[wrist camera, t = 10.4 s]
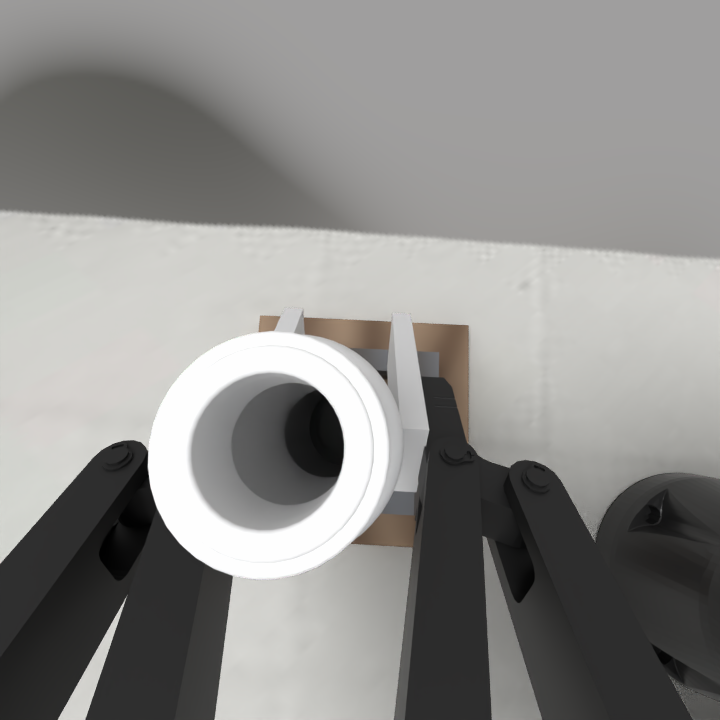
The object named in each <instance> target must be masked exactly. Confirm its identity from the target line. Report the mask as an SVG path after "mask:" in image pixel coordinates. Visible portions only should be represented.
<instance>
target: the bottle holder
mask: <svg viewBox="0 0 720 720" xmlns="http://www.w3.org/2000/svg"><path fill="white" fill-rule="evenodd" d="M279 319H280V316H260V323H259V332H266V331H274V330H275V328H276V326H277V324H278V321H279ZM412 326H413V332H414V338H415V344H416V351H417V357H418V363H419V369H420V375H421V376H424V377H443V378H445V379H446V381H447V382H448V383H449V384H450V385H451V386H452V389H453V392H454V396H455V400H456V404H457V409H458V411H459V415H460V419H461V422H462V426H463V430H464V434H465V437H466V441H467V443H468V325H447V324H426V323H412ZM304 331H305V335H312V336H318V337H322V338H326V339H329V340H332V341H335V342H337V343H339V344H342V345H344V346H346V347H348V348H349V349H351V350H353V351H354V352H356V353H357V354H359V355H360V356H361V357H362V358H364V359H365V360H366V361H368V362H369V363H370V364H371V365H372V366H373V367H374V368H375V369H376V370H377V372H378V373H379V374H380V376H381V377H382V378H383V379H384V381H385V382H386V384H387V386H388V375H387V362H388V352H389V341H390V331H391V322H384V321H363V320H343V319H322V318H304ZM419 497H420V494H419V485H418V487H417V492H402V491H393V493H392V496H391V498H390V500H389V501H388V503H387V505H386V506H385V508H384V510H383V511H382V513H381V514H380V515H379V516H378V518H377V519H376V520H375V521H374V523H373V524H372V525H371V526H370V527H369V528H368V529H367V530H366V531H365V532H364V533H363V534H361V535H360V536H359V537H357V538H356V539H355V540H354V541H353V542H352V543H351V544H365V545H382V546H399V547H413V543H414V534H415V524H416V521H415V515H416V511H417V506H418V501H419Z"/></svg>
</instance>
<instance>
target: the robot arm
mask: <svg viewBox="0 0 720 720" xmlns="http://www.w3.org/2000/svg"><path fill="white" fill-rule="evenodd" d="M274 331H281V332H293V333H297V334H301V335H305V331H304V315H303V308H284V311H283V313H282V315H281V317H280V319H279V321H278V324H277V326H276V328H275V330H274ZM387 375H388V387H389V389H390V391H391V393H392V395H393V397H394V399H395V402H396V404H397V407H398V410H399V413H400V417H401V422H402V428H403V439H404V449H403V460H402V465H401V471H400V474H399V478H398V481H397V484H396V487H395V489H394V491H402V492H417V487H418V485H419V494H420V497H419V501H418V506H417V511H416V515H415V521H416V524H415V534H414V543H413V552H412V561H411V570H410V579H409V588H408V597H407V607H406V616H405V625H404V634H403V643H402V652H401V661H400V670H399V680H398V689H397V698H396V707H395V716H394V720H492V717H491V697H490V678H489V658H488V638H487V618H486V598H485V578H484V559H483V539H482V536H485V537H487V540H488V544H489V547H490V550H491V553H492V557H493V560H494V563H495V566H496V570H497V573H498V576H499V579H500V583H501V586H502V589H503V592H504V596H505V599H506V602H507V605H508V609H509V612H510V615H511V619H512V622H513V625H514V628H515V632H516V635H517V638H518V641H519V645H520V648H521V651H522V654H523V658H524V661H525V664H526V667H527V671H528V674H529V677H530V680H531V684H532V687H533V690H534V694H535V697H536V700H537V703H538V707H539V710H540V713H541V716H542V720H692V718H691V716H690V714H689V713H688V711H687V709H686V707H685V705H684V703H683V702H682V700H681V698H680V696H679V694H678V693H677V691H676V689H675V687H674V685H673V684H672V682H671V680H670V678H671V679H673V680H674V681H676V682H678V683H679V684H681V685H683V686H685V687H686V688H688V689H690V690H693V691H695V692H697V693H700V694H702V695H705V696H707V697H709V698H712V699H714V700H717V701H719V702H720V479H716V478H711V477H705V476H698V475H692V474H685V473H667V474H661V475H656V476H652V477H649V478H647V479H644V480H642V481H640V482H638V483H636V484H634V485H633V486H631V487H630V488H628V489H627V490H626V491H624V492H623V493H622V494H621V495H620V496H619V497H618V498H617V499H616V500H615V502H614V503H613V504H612V505H611V507H610V508H609V510H608V511H607V513H606V515H605V517H604V519H603V521H602V524H601V526H600V529H599V532H598V536H597V541H596V544H595V542H594V540H593V538H592V536H591V535H590V533H589V531H588V529H587V527H586V526H585V524H584V522H583V520H582V518H581V516H580V515H579V513H578V511H577V509H576V507H575V506H574V504H573V502H572V500H571V498H570V497H569V495H568V493H567V491H566V489H565V487H564V486H563V484H562V482H561V480H560V479H559V478H558V477H557V475H556V474H555V473H554V472H553V471H551V470H550V469H549V468H547V467H546V466H544V465H542V464H540V463H537V462H534V461H528V460H524V461H518V462H516V463H515V464H513V465H512V466H511V468H507V467H504V466H501V465H497V464H494V463H491V462H489V461H486V460H484V459H483V458H481V457H479V456H478V455H477V453H476V451H475V450H474V449H473V448H472V447H471V445H469V444H468V443H467V441H466V437H465V434H464V430H463V426H462V422H461V419H460V415H459V411H458V409H457V404H456V400H455V396H454V392H453V389H452V386H451V385H450V384H449V383H448V382H447V381H446V379H445V378H443V377H424V376H421V375H420V369H419V363H418V357H417V351H416V344H415V338H414V332H413V326H412V319H411V314H409V313H392V321H391V331H390V341H389V352H388V362H387ZM232 579H233V576H232V575H229V574H226V573H224V572H221V571H218V570H216V569H213V568H212V567H210V566H208V565H207V564H205V563H203V562H202V561H200V560H198V559H197V558H195V557H194V556H193V555H192V554H191V553H190V552H188V551H187V550H186V549H185V548H184V547H183V546H182V545H181V544H179V542H178V541H177V540H176V538H175V537H174V536H173V534H172V533H171V532H170V531H169V529H168V528H167V527H166V525H165V523H164V521H163V519H162V517H161V515H160V513H159V511H158V509H157V507H156V503H155V500H154V497H153V494H152V491H151V487H150V479H149V471H148V451H147V449H146V447H145V446H144V445H143V444H142V443H141V442H138V441H134V440H130V441H121V442H118V443H115V444H112V445H110V446H108V447H106V448H105V449H103V450H101V451H100V452H99V453H98V454H97V455H96V456H95V457H94V458H93V459H92V460H91V461H90V462H89V463H88V464H87V466H86V467H85V468H84V469H83V470H82V471H81V472H80V474H79V475H78V476H77V477H76V478H75V479H74V480H73V482H72V483H71V484H70V485H69V486H68V487H67V488H66V490H65V491H64V492H63V493H62V494H61V495H60V496H59V498H58V499H57V500H56V501H55V502H54V503H53V504H52V506H51V507H50V508H49V509H48V510H47V511H46V512H45V514H44V515H43V516H42V517H41V518H40V519H39V520H38V522H37V523H36V524H35V525H34V526H33V527H32V528H31V530H30V531H29V532H28V533H27V534H26V535H25V536H24V538H23V539H22V540H21V541H20V542H19V543H18V544H17V546H16V547H15V548H14V549H13V550H12V551H11V552H10V554H9V555H8V556H7V557H6V558H5V559H4V560H3V562H2V563H1V564H0V720H58V718H59V716H60V714H61V713H62V711H63V709H64V707H65V705H66V704H67V702H68V700H69V698H70V696H71V695H72V693H73V691H74V689H75V688H76V686H77V684H78V682H79V680H80V679H81V677H82V675H83V673H84V671H85V670H86V668H87V666H88V664H89V663H90V661H91V659H92V657H93V655H94V654H95V652H96V650H97V648H98V646H99V645H100V643H101V641H102V639H103V638H104V636H105V634H106V632H107V630H108V629H109V627H110V625H111V623H112V621H113V620H114V618H115V616H116V614H117V613H118V611H119V609H120V607H121V605H122V604H123V602H124V600H125V598H126V596H127V598H126V601H125V604H124V607H123V610H122V613H121V616H120V619H119V622H118V625H117V628H116V631H115V634H114V637H113V640H112V643H111V646H110V649H109V652H108V655H107V657H106V660H105V663H104V666H103V669H102V672H101V675H100V678H99V681H98V684H97V687H96V690H95V693H94V696H93V699H92V702H91V705H90V708H89V711H88V714H87V717H86V720H214V719H215V711H216V703H217V695H218V687H219V680H220V672H221V664H222V656H223V649H224V641H225V633H226V625H227V617H228V610H229V602H230V594H231V586H232ZM669 677H670V678H669Z"/></svg>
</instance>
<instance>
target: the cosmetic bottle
mask: <svg viewBox="0 0 720 720" xmlns="http://www.w3.org/2000/svg"><path fill="white" fill-rule="evenodd" d="M403 449H404V439H403V428H402V422H401V417H400V413H399V410H398V407H397V404H396V402H395V399H394V397H393V395H392V393H391V391H390V389H389V387H388V386H387V384H386V382H385V381H384V379H383V378H382V377H381V376H380V374H379V373H378V372H377V370H376V369H375V368H374V367H373V366H372V365H371V364H370V363H369V362H368V361H366V360H365V359H364V358H362V357H361V356H360V355H359V354H357V353H356V352H354V351H353V350H351V349H349V348H348V347H346V346H344V345H342V344H339V343H337V342H335V341H332V340H329V339H326V338H322V337H318V336H312V335H301V334H297V333H293V332H281V331H266V332H257V333H250V334H247V335H243V336H239V337H236V338H233V339H230V340H228V341H226V342H224V343H222V344H219V345H217V346H215V347H214V348H212V349H210V350H209V351H207V352H206V353H204V354H203V355H201V356H200V357H198V358H197V359H196V360H195V361H194V362H193V363H192V364H191V365H190V366H189V367H187V368H186V369H185V370H184V371H183V372H182V374H181V375H180V376H179V377H178V379H177V380H176V381H175V382H174V384H173V385H172V386H171V387H170V389H169V391H168V393H167V394H166V396H165V398H164V400H163V401H162V403H161V405H160V407H159V410H158V413H157V415H156V418H155V421H154V423H153V427H152V432H151V437H150V441H149V450H148V471H149V479H150V487H151V491H152V494H153V497H154V500H155V503H156V507H157V509H158V511H159V513H160V515H161V517H162V519H163V521H164V523H165V525H166V527H167V528H168V529H169V531H170V532H171V533H172V534H173V536H174V537H175V538H176V540H177V541H178V542H179V544H181V545H182V546H183V547H184V548H185V549H186V550H187V551H188V552H190V553H191V554H192V555H193V556H194V557H195V558H197V559H198V560H200V561H202V562H203V563H205V564H207V565H208V566H210V567H212V568H213V569H216V570H218V571H221V572H224V573H226V574H229V575H232V576H236V577H242V578H247V579H253V580H270V579H281V578H286V577H291V576H296V575H300V574H302V573H304V572H307V571H309V570H312V569H314V568H317V567H319V566H321V565H322V564H324V563H326V562H327V561H329V560H330V559H332V558H334V557H335V556H337V555H338V554H339V553H340V552H342V551H343V550H344V549H345V548H346V547H347V546H348V545H349V544H351V543H352V542H353V541H354V540H355V539H356V538H357V537H359V536H360V535H361V534H363V533H364V532H365V531H366V530H367V529H368V528H369V527H370V526H371V525H372V524H373V523H374V521H375V520H376V519H377V518H378V516H379V515H380V514H381V513H382V511H383V510H384V508H385V506H386V505H387V503H388V501H389V500H390V498H391V496H392V493H393V491H394V489H395V487H396V484H397V481H398V478H399V474H400V471H401V465H402V460H403Z"/></svg>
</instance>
